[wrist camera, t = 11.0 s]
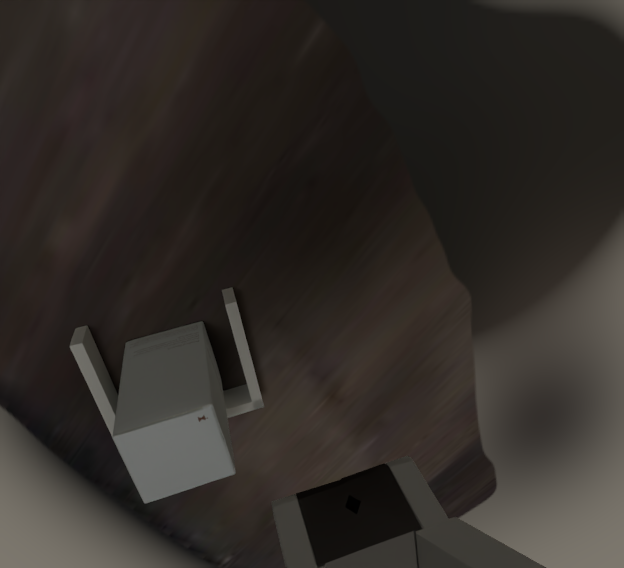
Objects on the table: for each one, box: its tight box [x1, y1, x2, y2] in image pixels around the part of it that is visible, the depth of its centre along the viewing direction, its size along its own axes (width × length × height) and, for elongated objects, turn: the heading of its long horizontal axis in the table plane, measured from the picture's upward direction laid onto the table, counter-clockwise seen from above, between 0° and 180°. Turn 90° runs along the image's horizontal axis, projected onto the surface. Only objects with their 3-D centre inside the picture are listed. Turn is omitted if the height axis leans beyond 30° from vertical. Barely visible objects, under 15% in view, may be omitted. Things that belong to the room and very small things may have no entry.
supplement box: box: [112, 321, 235, 503], centre depth 41 cm, size 7×7×13 cm
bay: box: [70, 288, 264, 436], centre depth 45 cm, size 12×14×3 cm
